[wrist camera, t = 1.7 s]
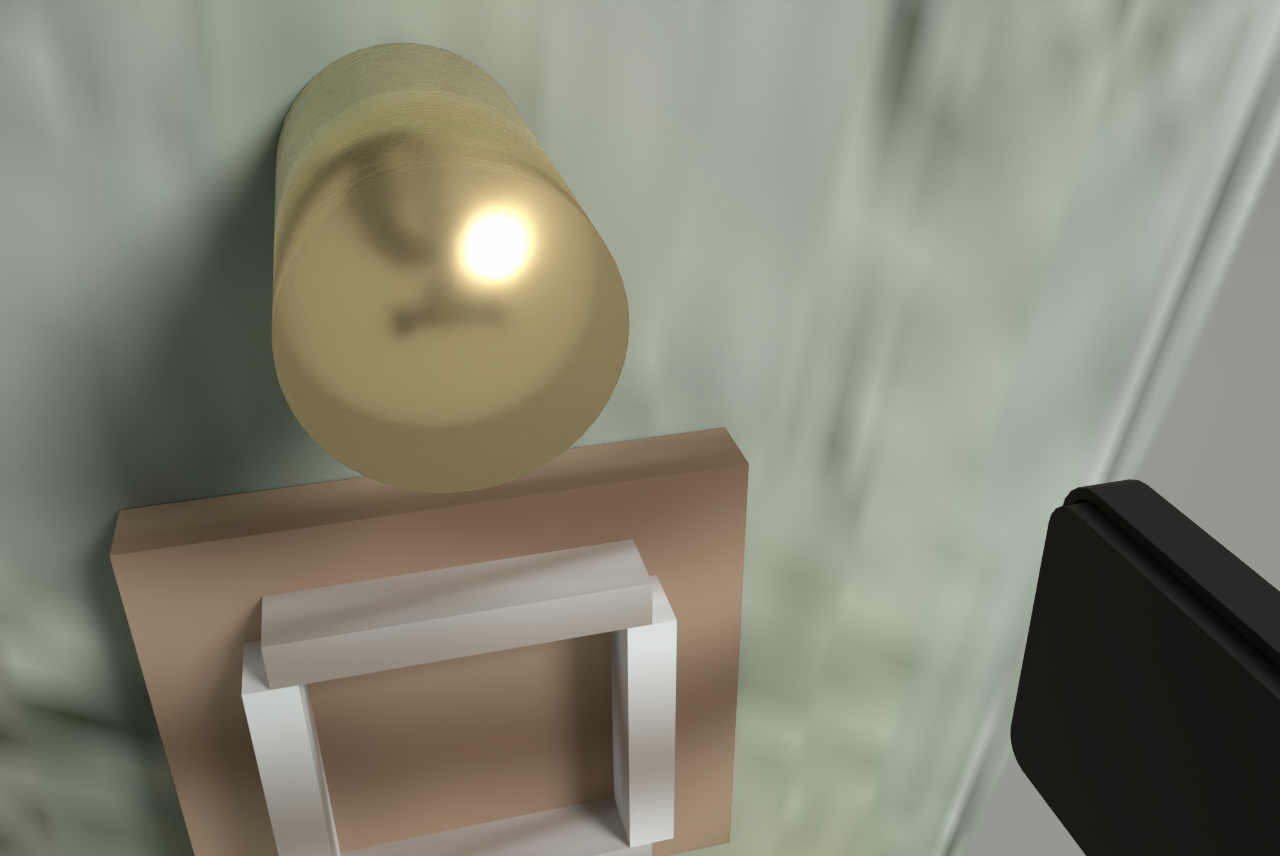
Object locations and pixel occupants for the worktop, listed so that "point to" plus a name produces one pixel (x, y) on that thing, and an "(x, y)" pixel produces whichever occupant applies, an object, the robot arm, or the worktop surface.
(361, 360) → the cylinder
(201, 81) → the worktop surface
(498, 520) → the fitting board
